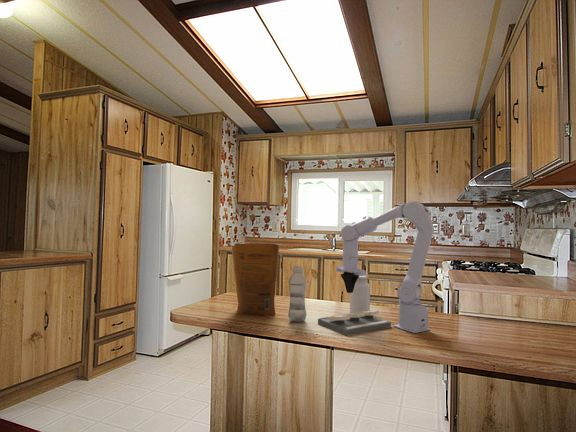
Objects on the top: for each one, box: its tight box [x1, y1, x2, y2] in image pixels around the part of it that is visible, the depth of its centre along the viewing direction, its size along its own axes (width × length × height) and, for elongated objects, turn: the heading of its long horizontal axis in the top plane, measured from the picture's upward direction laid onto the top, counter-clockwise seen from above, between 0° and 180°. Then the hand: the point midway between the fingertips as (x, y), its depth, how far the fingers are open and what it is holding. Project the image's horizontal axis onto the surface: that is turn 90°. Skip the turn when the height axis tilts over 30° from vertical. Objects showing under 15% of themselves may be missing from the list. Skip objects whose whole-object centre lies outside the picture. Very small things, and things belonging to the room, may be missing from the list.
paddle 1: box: [328, 314, 350, 320], centre depth 128 cm, size 7×4×1 cm, turn 32°
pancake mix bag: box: [231, 242, 280, 316], centre depth 147 cm, size 7×19×28 cm, turn 73°
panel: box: [317, 312, 392, 336], centre depth 132 cm, size 16×20×3 cm
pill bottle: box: [349, 275, 371, 313], centre depth 151 cm, size 8×8×15 cm
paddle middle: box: [344, 313, 365, 318], centre depth 132 cm, size 7×4×1 cm, turn 32°
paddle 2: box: [358, 310, 380, 316], centre depth 136 cm, size 7×4×1 cm, turn 32°
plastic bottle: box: [287, 266, 307, 323], centre depth 136 cm, size 6×7×20 cm
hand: (349, 292), depth 142 cm, fingers closed
